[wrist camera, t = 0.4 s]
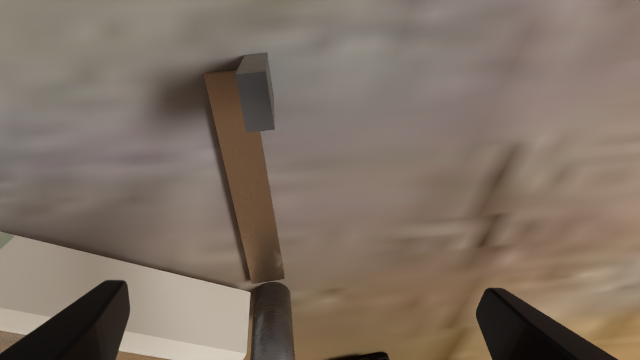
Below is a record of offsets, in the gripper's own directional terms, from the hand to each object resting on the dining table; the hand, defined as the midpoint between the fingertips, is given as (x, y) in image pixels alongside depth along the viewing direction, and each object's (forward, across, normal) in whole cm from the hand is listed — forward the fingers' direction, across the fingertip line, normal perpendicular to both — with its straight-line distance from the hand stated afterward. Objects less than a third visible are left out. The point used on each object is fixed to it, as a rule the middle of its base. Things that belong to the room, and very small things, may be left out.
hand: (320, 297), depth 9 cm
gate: (+13, +10, +11) cm, 19 cm away
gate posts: (+14, +1, +6) cm, 15 cm away
